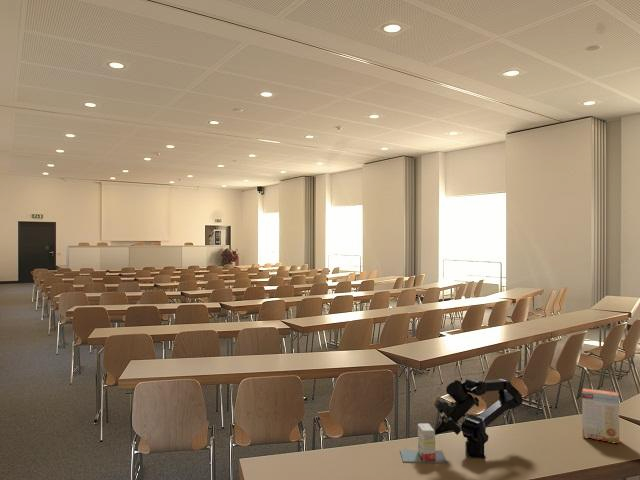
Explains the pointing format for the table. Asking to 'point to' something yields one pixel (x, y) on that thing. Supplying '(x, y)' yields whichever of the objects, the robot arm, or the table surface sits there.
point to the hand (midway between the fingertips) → (433, 434)
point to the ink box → (426, 442)
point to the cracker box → (600, 415)
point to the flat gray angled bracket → (415, 458)
